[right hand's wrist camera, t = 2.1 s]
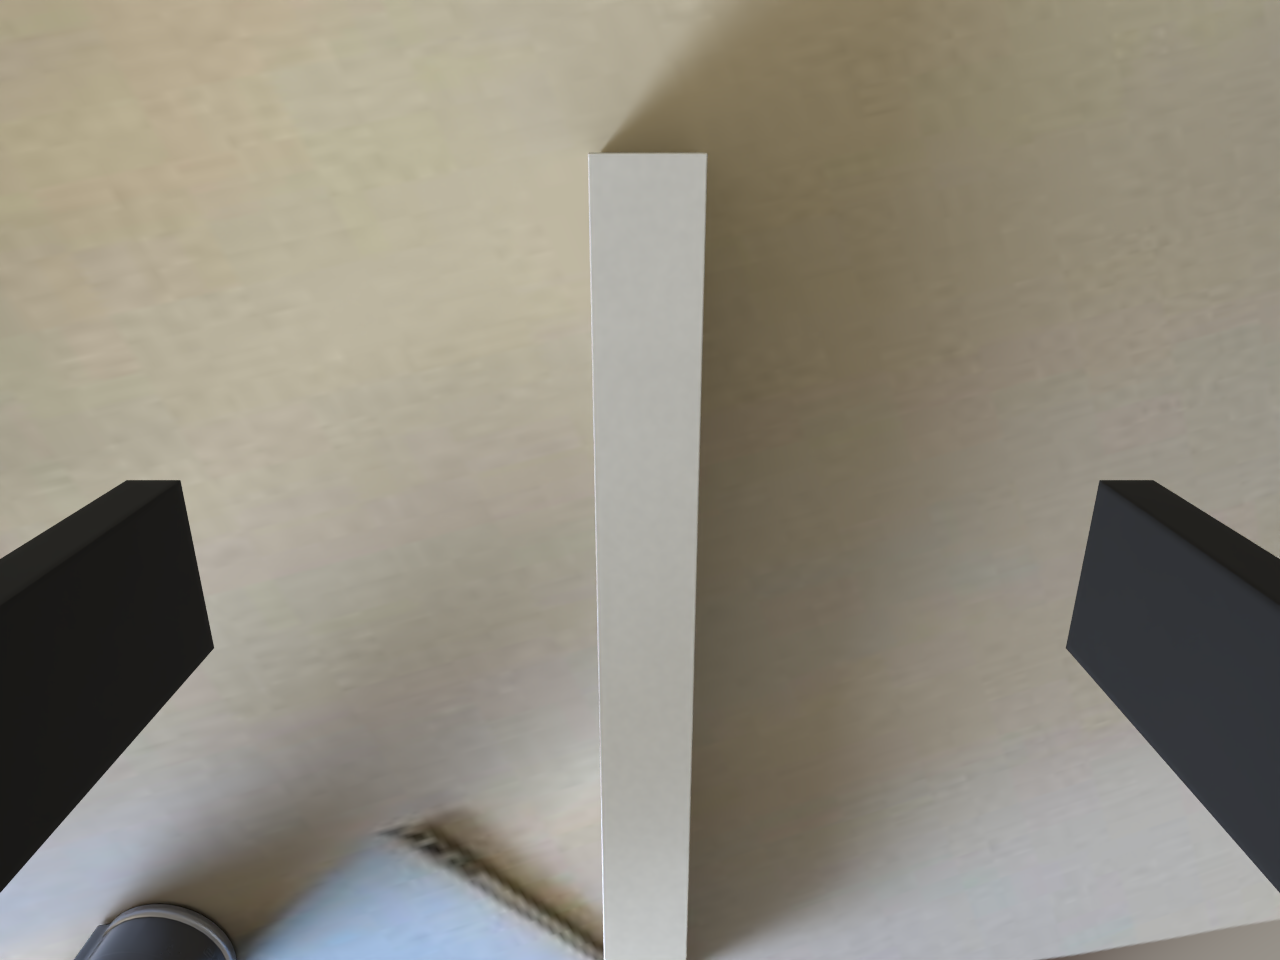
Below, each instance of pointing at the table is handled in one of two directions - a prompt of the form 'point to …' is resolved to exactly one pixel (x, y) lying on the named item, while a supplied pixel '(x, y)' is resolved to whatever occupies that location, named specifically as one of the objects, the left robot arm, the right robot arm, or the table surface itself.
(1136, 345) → the table surface
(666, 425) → the beam
